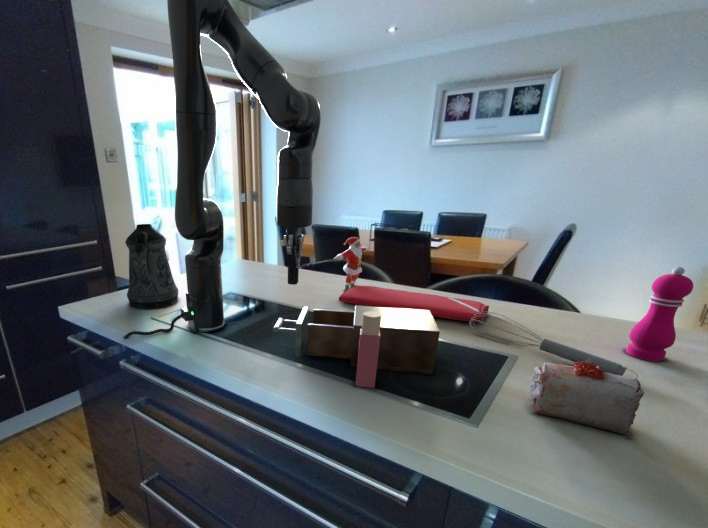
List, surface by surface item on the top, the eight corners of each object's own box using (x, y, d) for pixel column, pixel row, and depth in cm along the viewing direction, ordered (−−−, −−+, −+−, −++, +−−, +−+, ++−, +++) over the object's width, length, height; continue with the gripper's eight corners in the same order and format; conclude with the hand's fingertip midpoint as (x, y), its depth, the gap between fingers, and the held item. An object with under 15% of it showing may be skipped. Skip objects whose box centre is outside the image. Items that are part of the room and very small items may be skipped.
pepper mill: (655, 350, 89) (691, 264, 82) (674, 364, 83) (715, 272, 75) (616, 347, 92) (648, 262, 84) (632, 359, 85) (668, 269, 78)
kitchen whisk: (630, 387, 75) (641, 357, 72) (462, 334, 101) (466, 311, 98) (640, 378, 78) (652, 349, 75) (475, 329, 104) (479, 306, 102)
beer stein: (169, 292, 140) (162, 220, 130) (189, 306, 125) (182, 226, 115) (123, 299, 132) (111, 223, 123) (137, 315, 117) (125, 230, 107)
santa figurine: (341, 299, 129) (345, 242, 122) (325, 296, 132) (328, 241, 125) (373, 284, 147) (378, 233, 139) (358, 281, 150) (363, 232, 143)
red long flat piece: (357, 291, 138) (358, 281, 136) (488, 312, 115) (490, 300, 114) (338, 302, 126) (338, 291, 125) (479, 328, 104) (481, 315, 102)
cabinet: (350, 366, 84) (353, 325, 80) (352, 342, 96) (355, 305, 93) (432, 374, 80) (440, 331, 77) (423, 348, 92) (429, 310, 89)
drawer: (270, 354, 88) (270, 321, 85) (280, 334, 100) (281, 305, 97) (366, 363, 84) (369, 329, 81) (366, 341, 95) (369, 310, 92)
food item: (525, 414, 67) (540, 363, 63) (525, 394, 73) (539, 346, 69) (630, 441, 60) (654, 385, 56) (621, 416, 66) (642, 364, 62)
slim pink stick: (355, 386, 76) (362, 316, 71) (355, 378, 79) (362, 310, 73) (374, 388, 75) (382, 317, 70) (374, 380, 78) (381, 312, 73)
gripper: (282, 200, 87) (282, 276, 94) (269, 204, 76) (270, 290, 82) (316, 200, 86) (313, 277, 92) (308, 204, 74) (305, 292, 81)
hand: (293, 283), depth 87 cm, fingers closed
